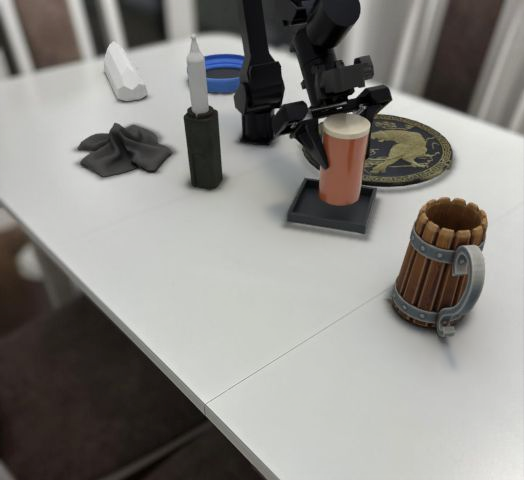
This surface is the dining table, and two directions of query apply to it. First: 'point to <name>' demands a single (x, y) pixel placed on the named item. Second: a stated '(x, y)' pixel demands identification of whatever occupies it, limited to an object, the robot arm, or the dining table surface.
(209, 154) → the candle
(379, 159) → the decorative plate
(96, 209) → the dining table surface
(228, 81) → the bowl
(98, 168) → the cloth
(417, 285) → the mug
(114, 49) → the crystal
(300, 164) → the dining table surface
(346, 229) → the dark gray rectangular tray
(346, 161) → the cup
